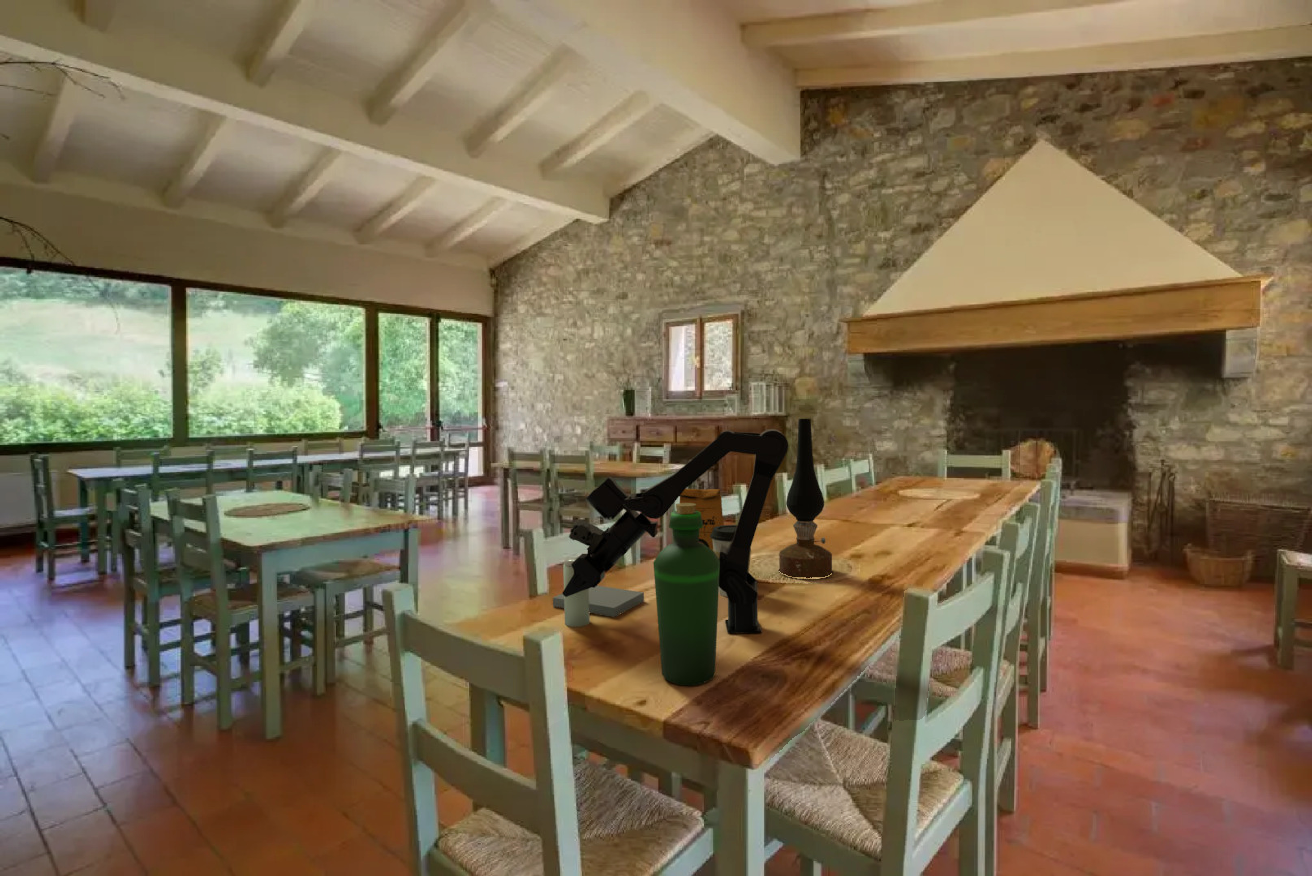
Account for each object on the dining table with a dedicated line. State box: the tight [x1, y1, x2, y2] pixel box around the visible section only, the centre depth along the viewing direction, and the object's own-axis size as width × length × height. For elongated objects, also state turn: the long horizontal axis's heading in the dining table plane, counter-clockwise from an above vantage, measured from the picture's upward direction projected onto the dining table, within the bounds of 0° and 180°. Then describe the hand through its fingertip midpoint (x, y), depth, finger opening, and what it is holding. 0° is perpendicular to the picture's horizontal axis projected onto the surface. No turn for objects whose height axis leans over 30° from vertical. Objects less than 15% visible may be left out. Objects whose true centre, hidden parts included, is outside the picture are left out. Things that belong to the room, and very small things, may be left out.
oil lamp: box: [777, 418, 834, 578], centre depth 163 cm, size 14×15×40 cm
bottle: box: [653, 502, 720, 687], centre depth 105 cm, size 11×11×28 cm
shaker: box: [562, 556, 591, 628], centre depth 132 cm, size 5×5×13 cm
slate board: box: [552, 585, 645, 618], centre depth 144 cm, size 16×12×2 cm
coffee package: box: [679, 488, 725, 550], centre depth 167 cm, size 10×12×22 cm
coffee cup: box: [710, 524, 752, 598], centre depth 150 cm, size 10×10×15 cm
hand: (569, 589), depth 132 cm, fingers open, 8 cm apart
